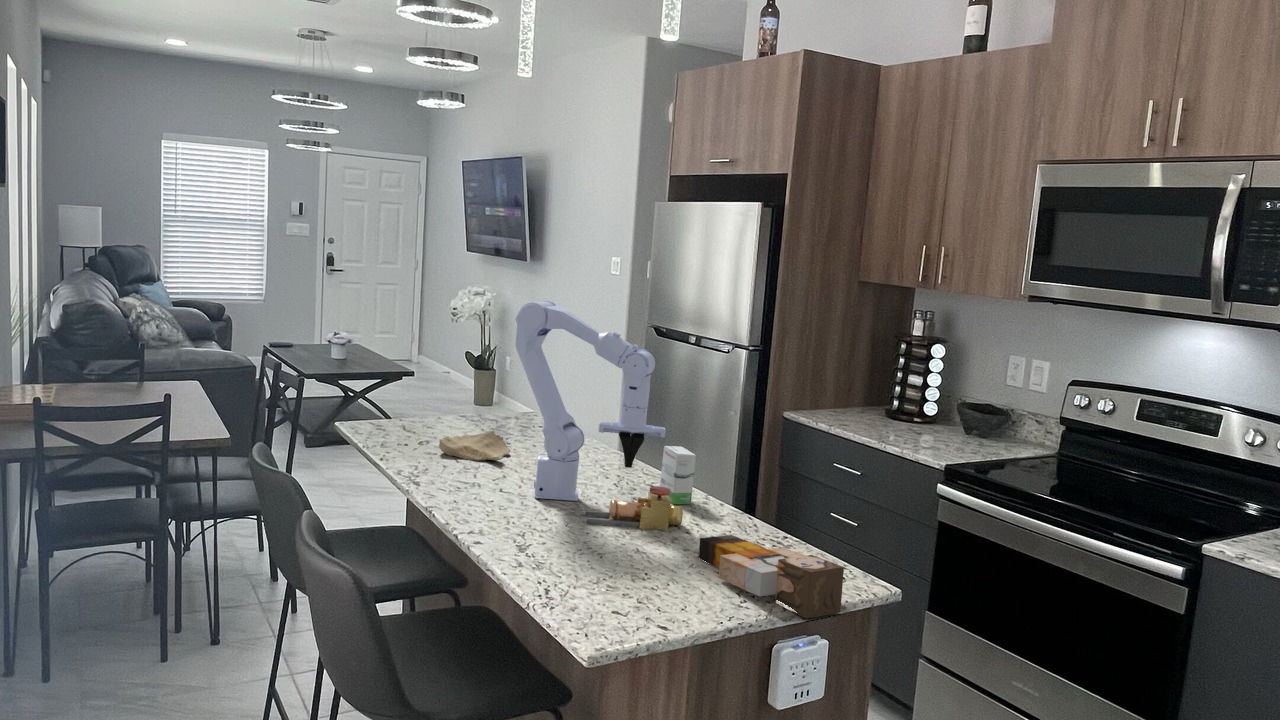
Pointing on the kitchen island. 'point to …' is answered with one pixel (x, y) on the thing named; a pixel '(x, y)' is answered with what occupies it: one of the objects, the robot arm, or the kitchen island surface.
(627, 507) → the coupling
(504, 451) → the rock
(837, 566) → the toy
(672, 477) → the ink box
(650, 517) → the valve
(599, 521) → the rails
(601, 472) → the kitchen island surface
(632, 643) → the kitchen island surface
